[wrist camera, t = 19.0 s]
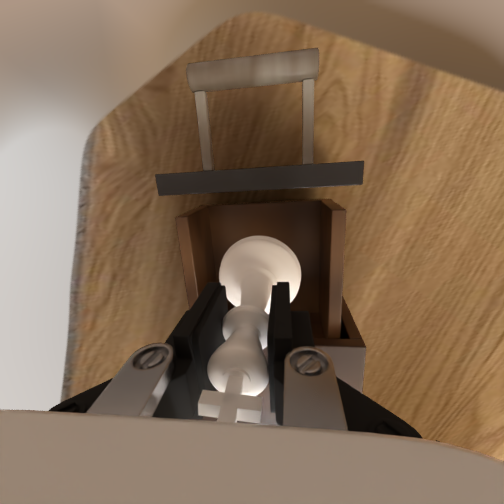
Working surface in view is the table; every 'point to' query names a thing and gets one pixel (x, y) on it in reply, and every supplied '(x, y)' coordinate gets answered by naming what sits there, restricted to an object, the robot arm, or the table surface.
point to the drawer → (266, 178)
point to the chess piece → (246, 327)
